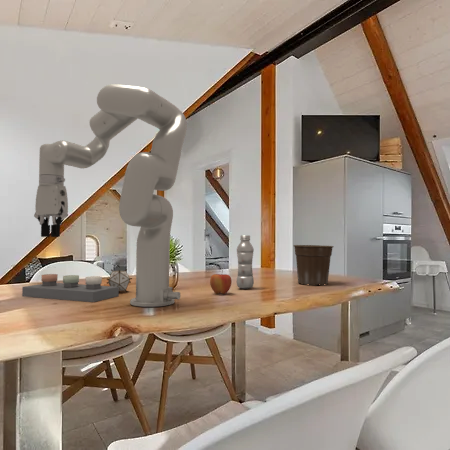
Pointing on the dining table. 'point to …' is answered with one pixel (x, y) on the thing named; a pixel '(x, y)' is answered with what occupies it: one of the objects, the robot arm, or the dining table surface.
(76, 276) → the sage button
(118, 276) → the game die
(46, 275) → the terracotta button
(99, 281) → the cream button
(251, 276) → the plastic bottle
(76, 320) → the dining table surface
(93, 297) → the board
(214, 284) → the apple
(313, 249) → the plant pot
